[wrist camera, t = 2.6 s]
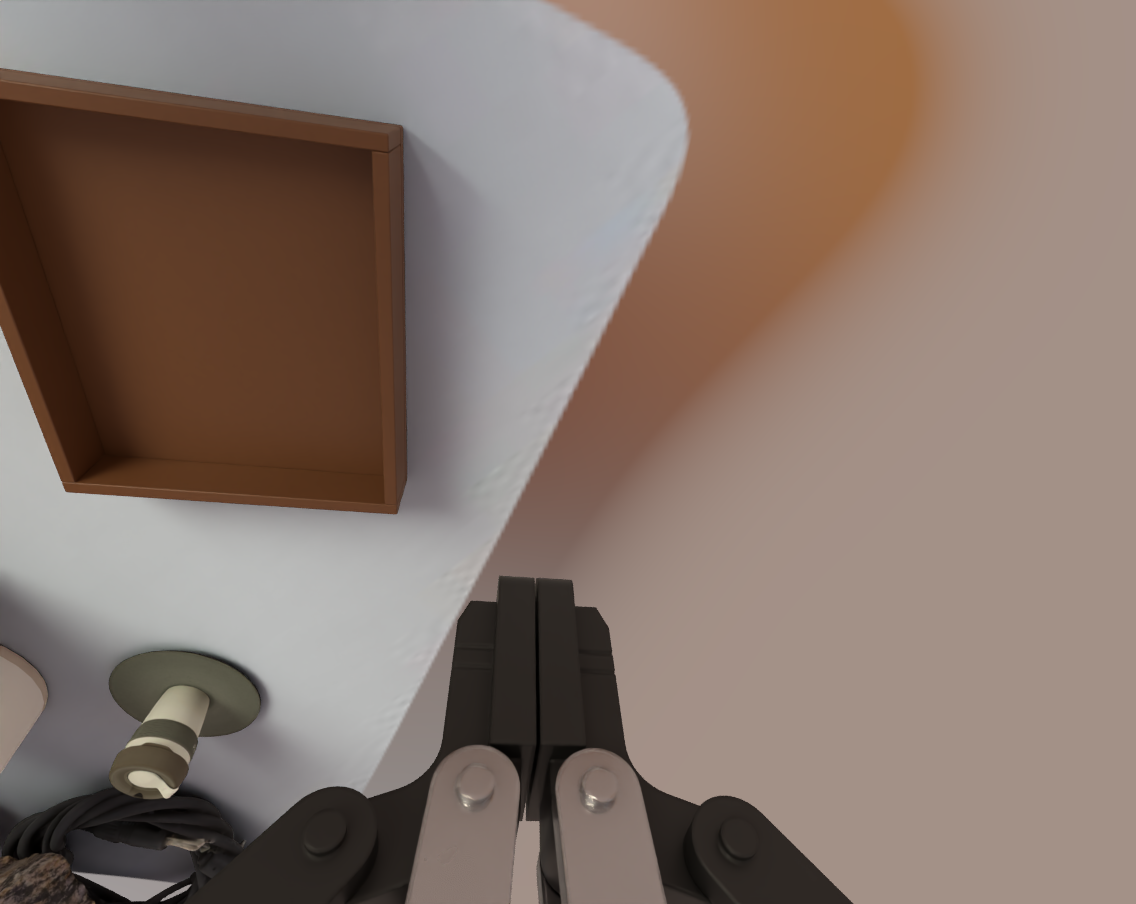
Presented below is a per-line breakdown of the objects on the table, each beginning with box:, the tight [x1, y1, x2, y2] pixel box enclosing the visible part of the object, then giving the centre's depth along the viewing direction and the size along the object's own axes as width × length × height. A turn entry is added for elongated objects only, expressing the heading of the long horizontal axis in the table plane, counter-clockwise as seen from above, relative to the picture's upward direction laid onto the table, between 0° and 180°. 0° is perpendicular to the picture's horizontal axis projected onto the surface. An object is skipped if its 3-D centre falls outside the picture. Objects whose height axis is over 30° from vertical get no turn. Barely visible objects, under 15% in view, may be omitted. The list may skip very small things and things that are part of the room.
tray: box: [0, 68, 407, 514], centre depth 21 cm, size 14×12×2 cm
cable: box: [2, 787, 246, 904], centre depth 40 cm, size 17×14×4 cm
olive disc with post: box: [109, 650, 261, 799], centre depth 32 cm, size 12×12×5 cm
